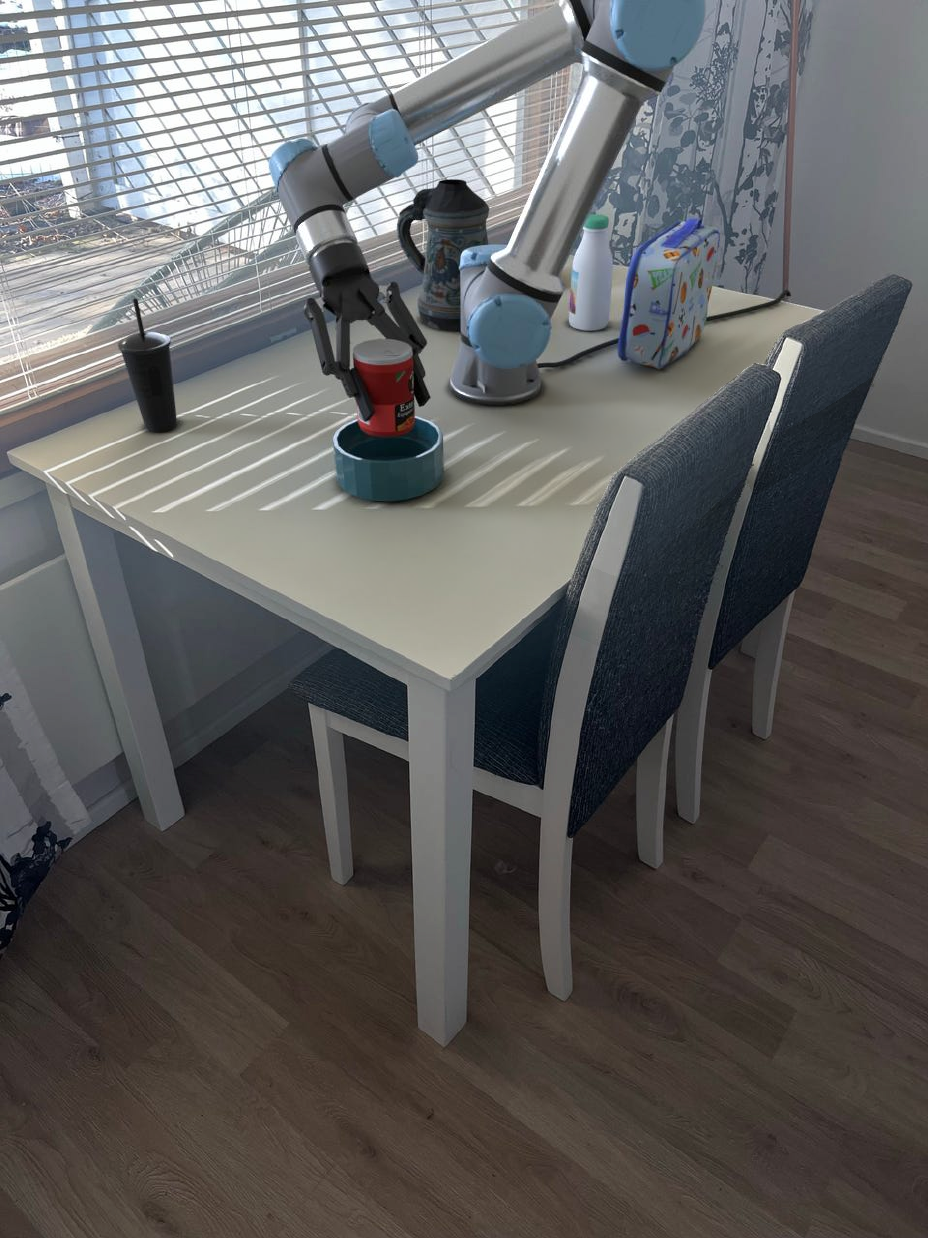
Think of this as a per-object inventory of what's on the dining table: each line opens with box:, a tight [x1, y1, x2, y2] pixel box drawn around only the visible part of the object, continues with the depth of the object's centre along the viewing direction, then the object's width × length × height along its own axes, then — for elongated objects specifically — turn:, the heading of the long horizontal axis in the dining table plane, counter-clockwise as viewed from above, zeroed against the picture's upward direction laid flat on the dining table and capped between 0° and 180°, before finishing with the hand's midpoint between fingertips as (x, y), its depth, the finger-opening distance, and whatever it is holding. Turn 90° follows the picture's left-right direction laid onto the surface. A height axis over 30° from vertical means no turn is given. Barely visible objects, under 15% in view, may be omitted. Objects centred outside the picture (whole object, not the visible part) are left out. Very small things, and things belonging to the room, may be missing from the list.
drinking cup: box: [117, 298, 178, 433], centre depth 146 cm, size 8×8×20 cm
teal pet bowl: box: [332, 415, 445, 502], centre depth 136 cm, size 15×15×6 cm
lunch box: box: [617, 217, 721, 370], centre depth 170 cm, size 28×10×22 cm, turn 152°
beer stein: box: [396, 178, 490, 332], centre depth 183 cm, size 16×19×25 cm
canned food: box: [352, 338, 416, 437], centre depth 130 cm, size 8×8×11 cm
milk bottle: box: [568, 213, 614, 332], centre depth 181 cm, size 8×8×20 cm
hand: (397, 409), depth 128 cm, fingers closed on canned food, 8 cm apart
